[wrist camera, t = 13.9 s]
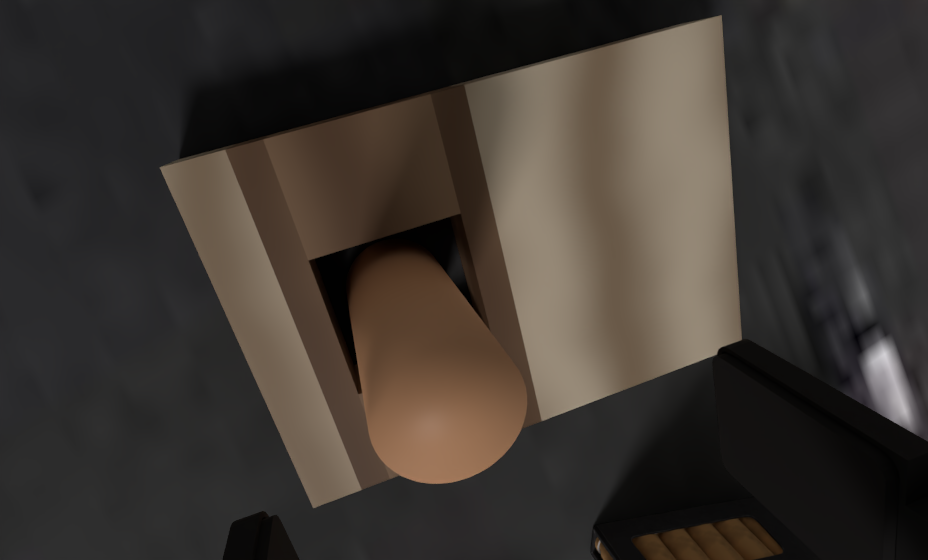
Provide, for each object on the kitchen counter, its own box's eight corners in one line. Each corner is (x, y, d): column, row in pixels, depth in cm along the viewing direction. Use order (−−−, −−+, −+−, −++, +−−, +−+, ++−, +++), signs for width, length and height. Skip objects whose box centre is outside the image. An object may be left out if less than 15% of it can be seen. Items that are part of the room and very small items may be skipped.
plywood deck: (679, 24, 22) (721, 15, 20) (705, 324, 27) (741, 344, 25) (178, 159, 19) (159, 167, 17) (313, 469, 24) (313, 508, 22)
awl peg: (428, 226, 22) (509, 316, 13) (452, 312, 24) (540, 449, 14) (332, 255, 21) (345, 373, 12) (363, 342, 23) (395, 506, 14)
